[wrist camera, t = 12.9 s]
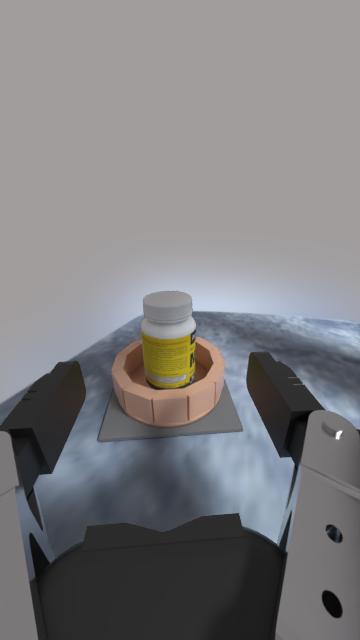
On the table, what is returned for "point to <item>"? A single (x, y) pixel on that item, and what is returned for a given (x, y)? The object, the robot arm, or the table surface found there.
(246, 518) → the table surface
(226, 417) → the mat
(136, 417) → the bowl
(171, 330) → the supplement bottle
